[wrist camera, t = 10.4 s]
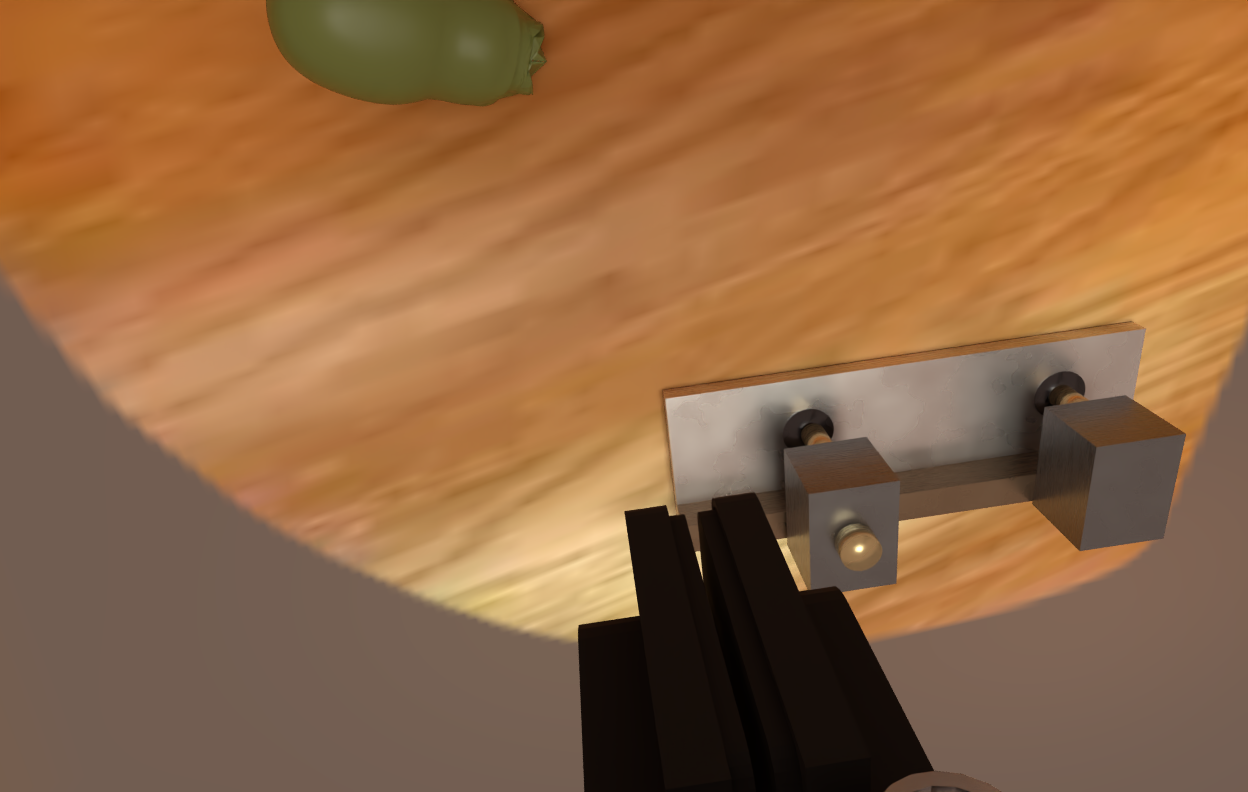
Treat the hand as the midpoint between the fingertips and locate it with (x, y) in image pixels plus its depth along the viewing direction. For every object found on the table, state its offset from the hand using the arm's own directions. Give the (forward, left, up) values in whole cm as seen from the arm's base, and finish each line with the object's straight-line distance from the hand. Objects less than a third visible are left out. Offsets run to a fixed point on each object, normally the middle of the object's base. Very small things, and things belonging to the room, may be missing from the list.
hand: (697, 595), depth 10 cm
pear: (+6, -7, -27) cm, 29 cm away
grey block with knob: (-9, +15, -26) cm, 31 cm away
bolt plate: (-14, +14, -27) cm, 34 cm away
